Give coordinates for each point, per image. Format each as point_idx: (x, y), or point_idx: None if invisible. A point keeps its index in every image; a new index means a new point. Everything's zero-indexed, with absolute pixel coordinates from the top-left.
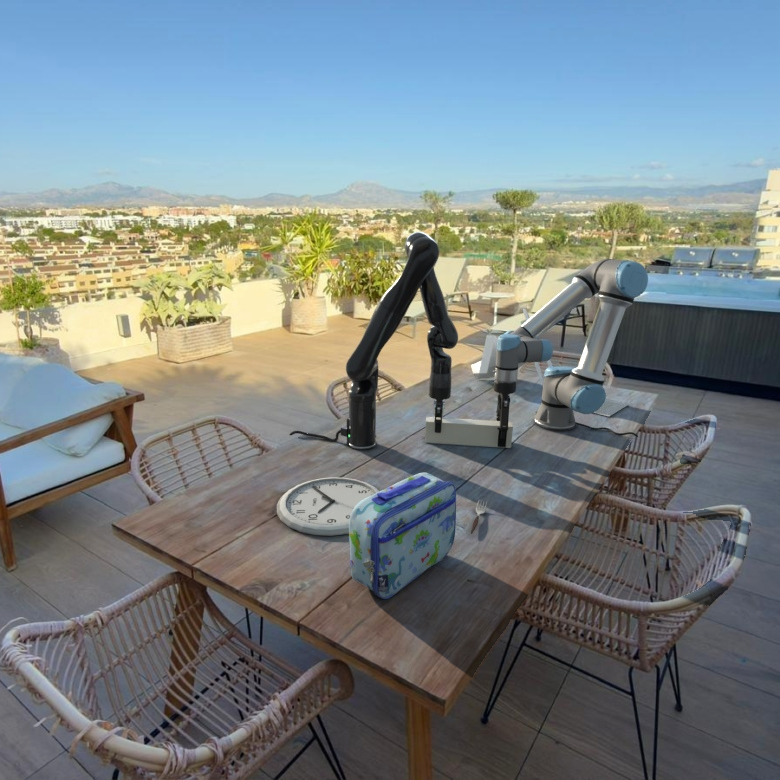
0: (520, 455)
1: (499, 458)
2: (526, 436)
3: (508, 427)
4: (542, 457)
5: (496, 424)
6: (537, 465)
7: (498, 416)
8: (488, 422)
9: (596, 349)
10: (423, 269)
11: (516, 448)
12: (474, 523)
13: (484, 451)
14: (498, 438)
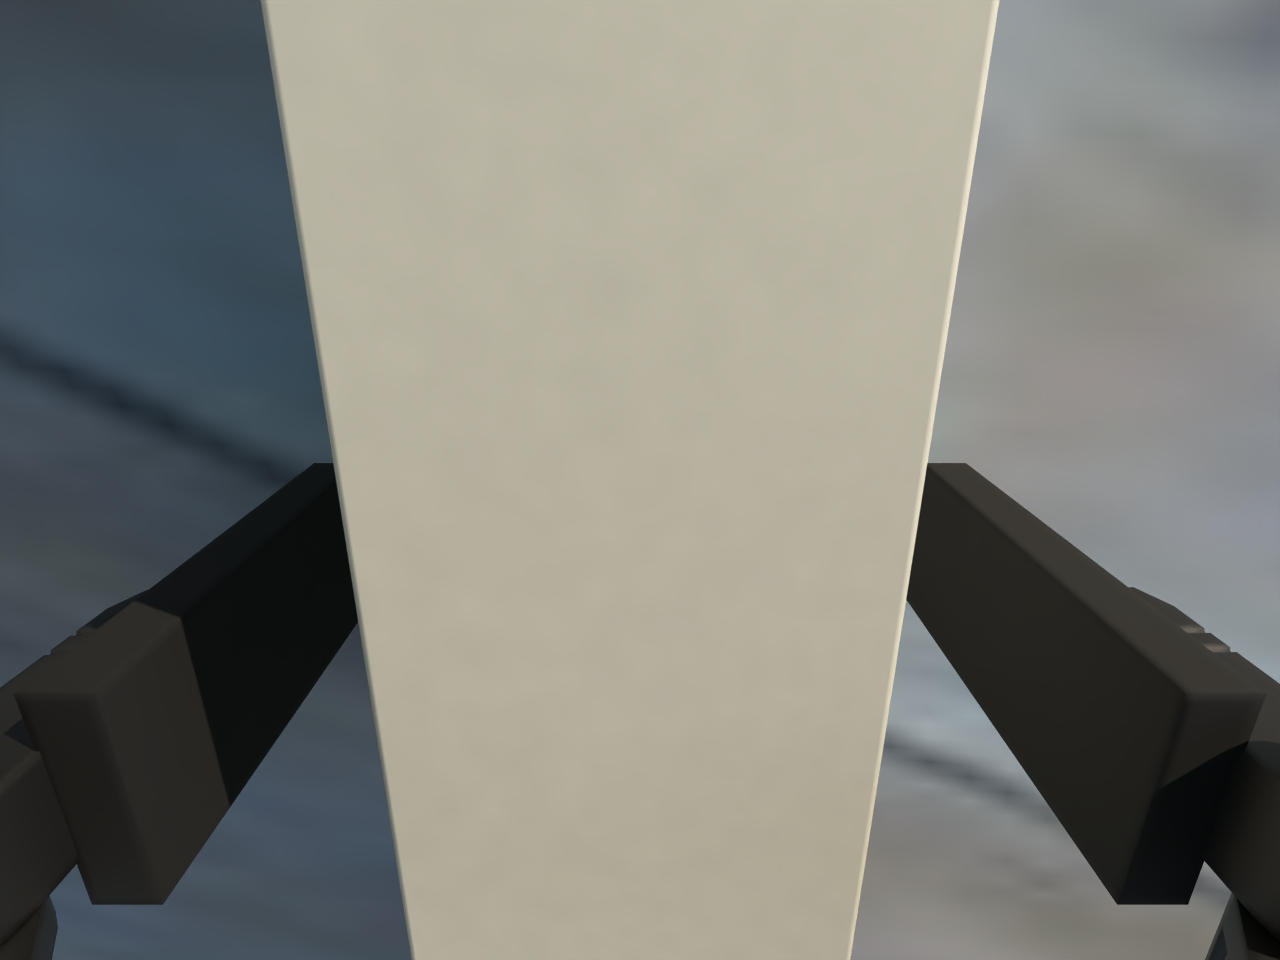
0: (295, 740)
1: (57, 450)
2: (1004, 872)
3: (411, 919)
4: (322, 953)
5: (497, 638)
6: None
7: (1270, 780)
8: (677, 347)
9: None
10: None
11: None
12: None
13: (261, 201)
14: (215, 540)
